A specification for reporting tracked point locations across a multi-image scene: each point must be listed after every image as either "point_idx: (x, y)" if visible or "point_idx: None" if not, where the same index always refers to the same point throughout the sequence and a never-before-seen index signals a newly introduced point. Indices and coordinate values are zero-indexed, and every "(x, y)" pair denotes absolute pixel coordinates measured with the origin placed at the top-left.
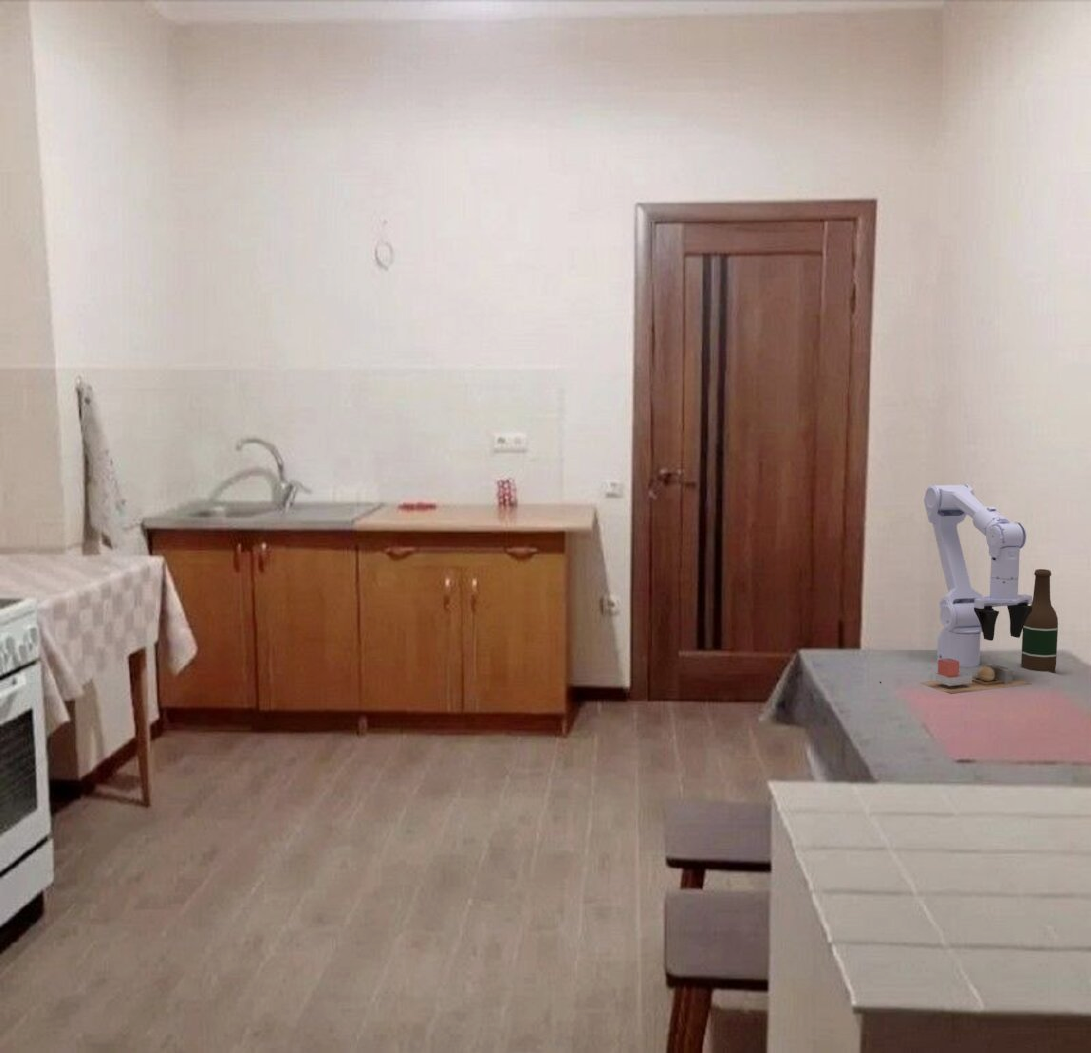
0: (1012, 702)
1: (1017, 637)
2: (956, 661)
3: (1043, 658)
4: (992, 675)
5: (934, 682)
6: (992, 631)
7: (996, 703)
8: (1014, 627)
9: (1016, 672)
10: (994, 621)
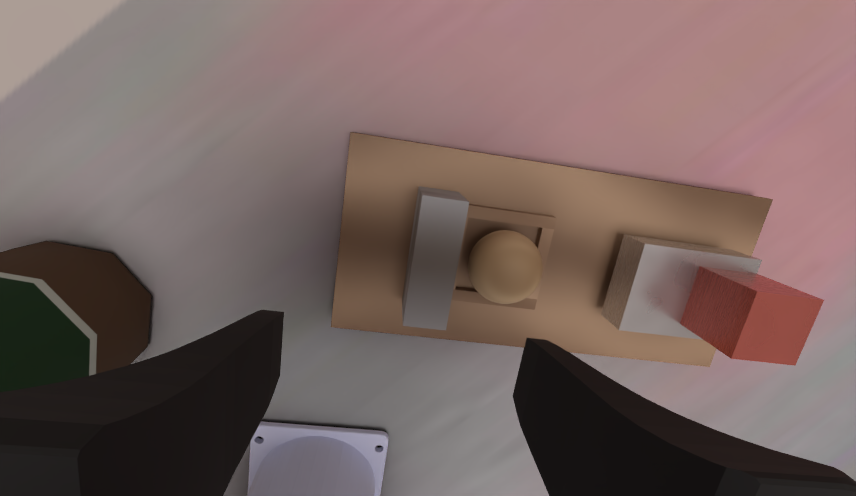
0: (610, 31)
1: (282, 315)
2: (772, 294)
3: (53, 283)
4: (510, 232)
5: (662, 345)
6: (583, 365)
7: (674, 59)
8: (252, 394)
9: (175, 348)
10: (638, 414)
